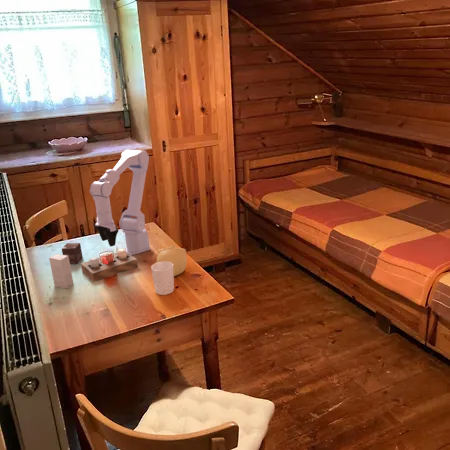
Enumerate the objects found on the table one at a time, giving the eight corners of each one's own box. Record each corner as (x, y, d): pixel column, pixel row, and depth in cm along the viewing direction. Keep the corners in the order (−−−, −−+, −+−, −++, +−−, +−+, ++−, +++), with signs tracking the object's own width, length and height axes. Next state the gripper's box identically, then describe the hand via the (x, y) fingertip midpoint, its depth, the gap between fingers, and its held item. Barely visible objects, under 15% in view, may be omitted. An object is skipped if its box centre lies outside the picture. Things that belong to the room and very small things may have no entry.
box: (83, 258, 213) (80, 242, 210) (78, 264, 207) (75, 248, 205) (69, 258, 213) (66, 242, 211) (64, 264, 208) (61, 248, 205)
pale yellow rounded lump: (189, 266, 200) (187, 241, 197) (183, 279, 189) (181, 253, 185) (162, 265, 202) (159, 241, 198) (154, 279, 191) (151, 253, 187)
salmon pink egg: (111, 260, 203) (110, 252, 201) (115, 263, 200) (113, 254, 199) (103, 263, 201) (102, 254, 199) (107, 266, 198) (105, 257, 197)
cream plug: (124, 256, 206) (123, 247, 204) (128, 259, 203) (127, 250, 202) (117, 259, 204) (115, 250, 203) (120, 261, 201) (119, 252, 200)
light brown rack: (125, 257, 211) (124, 250, 210) (138, 266, 202) (137, 259, 201) (82, 271, 201) (80, 263, 199) (93, 281, 192) (92, 273, 190)
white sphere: (97, 265, 199) (96, 256, 198) (101, 267, 197) (99, 258, 195) (89, 267, 197) (88, 258, 196) (92, 270, 195) (91, 261, 193)
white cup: (158, 297, 177) (155, 272, 173) (150, 289, 183) (148, 264, 180) (178, 292, 180) (176, 267, 177) (170, 283, 187) (168, 259, 183)
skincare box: (74, 284, 190) (69, 255, 186) (66, 289, 187) (61, 260, 183) (61, 281, 193) (56, 253, 189) (54, 286, 189) (48, 257, 185)
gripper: (87, 209, 199) (92, 240, 204) (101, 218, 188) (106, 251, 193) (103, 205, 203) (108, 235, 208) (118, 213, 192) (123, 246, 197)
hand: (108, 242), depth 201 cm, fingers open, 7 cm apart
